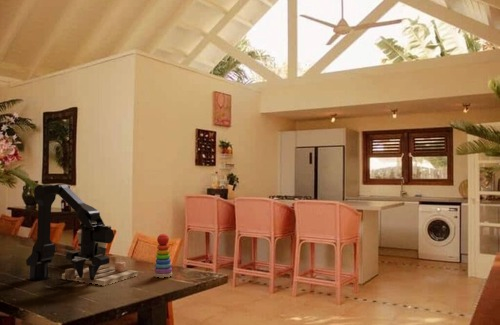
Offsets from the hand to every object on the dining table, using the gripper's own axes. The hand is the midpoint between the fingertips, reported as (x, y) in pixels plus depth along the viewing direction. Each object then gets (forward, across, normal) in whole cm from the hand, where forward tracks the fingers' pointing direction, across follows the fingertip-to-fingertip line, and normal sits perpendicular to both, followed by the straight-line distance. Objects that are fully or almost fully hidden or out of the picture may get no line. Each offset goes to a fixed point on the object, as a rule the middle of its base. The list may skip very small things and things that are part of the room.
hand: (86, 278), depth 171 cm
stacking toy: (+2, -18, -26) cm, 32 cm away
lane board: (+3, +4, -11) cm, 12 cm away
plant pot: (+5, +30, -31) cm, 44 cm away
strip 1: (+2, +9, -9) cm, 13 cm away
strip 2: (+1, -2, -9) cm, 9 cm away
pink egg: (0, -2, -17) cm, 17 cm away
